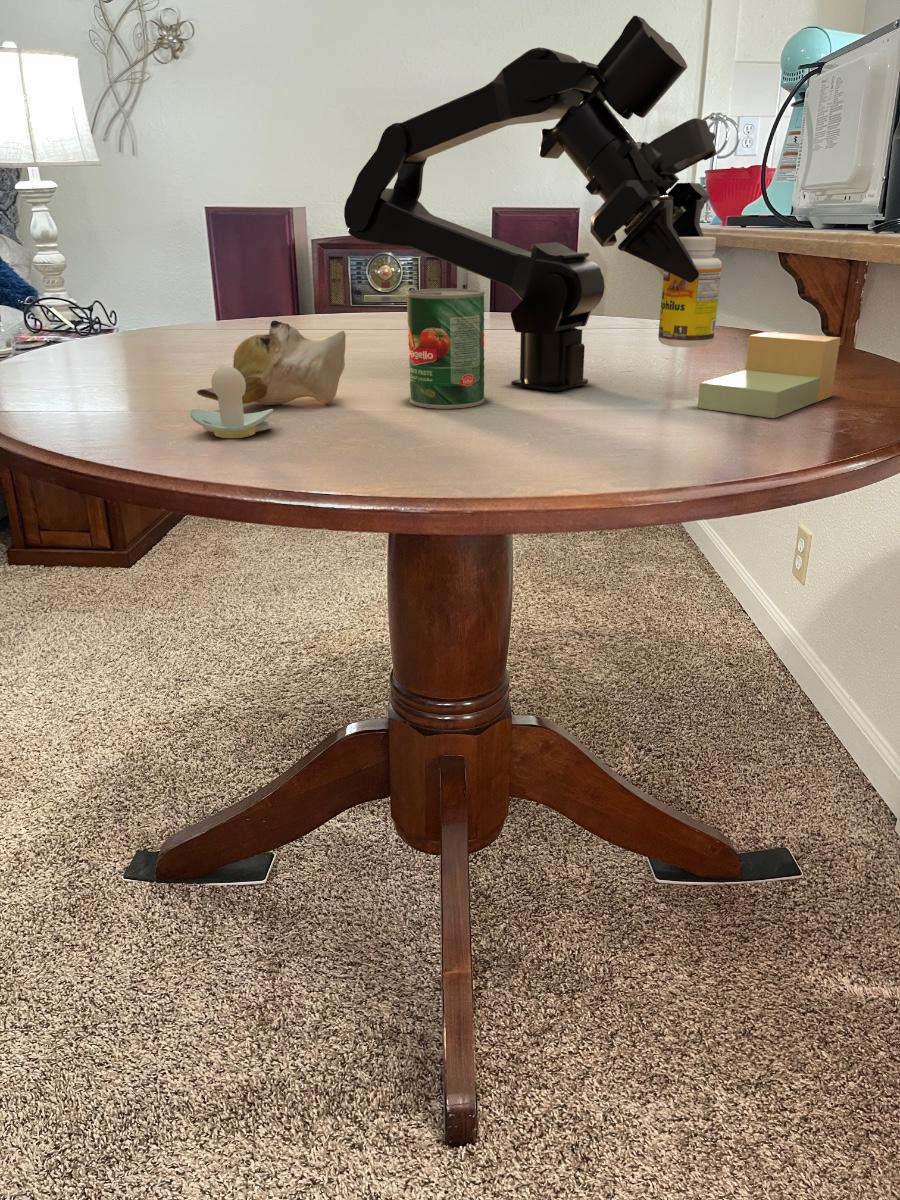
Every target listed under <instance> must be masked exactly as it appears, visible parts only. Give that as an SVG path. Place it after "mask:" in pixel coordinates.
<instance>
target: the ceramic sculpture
mask: <svg viewBox="0 0 900 1200" xmlns="http://www.w3.org/2000/svg"><path fill="white" fill-rule="evenodd" d="M268 330H269V331H268V332H267V333H255V334H252V335H250V336H248V337H247V338H245V339H244V340H242V341H241V342H240V343H239V344H238V345H237V347H236V349H235V350H234V353H233V357H232V358H233V361H232V362H233V363H232V365H233V366H232V367H233V368H235V369H237V370H238V371H239V372H240V373H241V374H242V376H243V377H244V379H245V383H246V390H245V393H244V395H243V396H242V403H243V405H246V404H250V403H253V402H254V403H256V404H259V405H262V406H277V405H284V404H288V403H289V402H292V401H294V400H296V399H301V398H311V399H312V398H313V399H314V400H316V401H317V402H319V403H322V404H327V403H331V402H332V401H333V400H334V399H335V397H336V396H337V393H338V388H339V383H340V378H341V376H342V374H343V372H344V370H345V364H346V363H345V361H346V360H345V354H346V335H347V334H346V332H345V330H340V331H338V332H336V333H334V334H330V335H327V336H325V337H323V338H319V339H309V338H307V337H305V336H303V335H302V333H300V331H299V330H298V329H297V328H296V327H295V326H292V325H290V324H288V323H285V322H281V321H278V320H272V321H271V322H270V326H269V329H268ZM196 394H197V395H198V396H201V397H204V398H207V399H211V400H214V401H217V402H218V396H217V395H216V394H215V393H214V391H213V389H212V387H207V388H202V389H201V388H200V389H198V390H196Z"/></svg>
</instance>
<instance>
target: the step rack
mask: <svg viewBox="0 0 900 1200" xmlns="http://www.w3.org/2000/svg"><path fill="white" fill-rule="evenodd" d="M840 343H841V337H840V336H828V335H816V334H815V335H813V334H801V333H787V332H772V331H763V332H759V333H755V334H751V335H749V336H748V344H747V352H746V361H745V369H742V370H740V371H736V372H733V373H729V374H726V375H722V376H720V377H716V378H712V379H708V380H704V381H702V382H699V388H698V396H697V397H698V398H697V400H698V401H697V409H700V410H701V409H702V410H709V411H716V412H724V413H731V414H738V415H746V416H752V417H753V416H754V417H758V418H759V417H760V418H767V419H777V418H779V417H782V416H784V415H787V414H789V413H792V412H794V411H797V410H799V409H802V408H805V407H807V406H810V405H813V404H815V403H818V402H821V401H823V400H826V399H828V398H831V397H832V395H833V388H834V383H835V376H836V369H837V363H838V357H839V351H840Z"/></svg>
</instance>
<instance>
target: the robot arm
mask: <svg viewBox="0 0 900 1200" xmlns="http://www.w3.org/2000/svg"><path fill="white" fill-rule="evenodd" d="M605 53H606V54H605V55H604V56H603V57H602V59H600V61H599V62H598V64H595V63H591V62H589V61H585V60H580V61H579V60H578V59H577V58H575V57H574V56H573V55H570V54H568V53H567V54H566V53H563V52H559V51H556V50H553V49H550V48H546V47H534V48H531V49H528V50H527V51H525V52H524V53H522V54H521V55H520V56H519V57H517V58H515V59H514V60H512V61H511V62H510V63H508V64H507V65H505V66H504V67H503V68H502V69H501V70H500V72H498V74H497V75H496V76H495V77H494V78H493V80H491V81H490V82H488V83H487V84H485V85H484V86H482V87H480V88H478V89H476V90H473V91H471V92H468V93H466V94H465V95H462V96H459V97H458V98H457V97H456V98H454V99H453V100H449V101H447V102H446V103H444V104H441V105H439V106H437V107H434V108H431V109H429V110H427V111H425V112H423V113H420V114H418V115H416V116H414V117H411V118H408V119H407V120H404V121H402V122H394V123H392V124H391V125H389V126H387V127H386V128H385V129H384V131H383V132H382V134H381V137H380V140H379V142H378V145H377V148H376V149H375V151H374V152H373V153H372V155H371V156H370V157H369V160H368V161H366V163H365V164H364V166H363V167H362V169H361V170H360V171H359V172H358V174H357V176H356V179H355V182H354V184H353V186H352V189H351V192H350V193H349V195H348V197H347V198H346V201H345V203H344V204H345V205H344V208H343V217H344V223H345V226H346V228H347V233H348V234H349V235H350V236H351V237H352V238H353V239H355V240H356V241H358V242H363V243H369V244H375V245H385V246H393V247H403V248H410V249H413V250H415V251H418V252H421V253H423V254H426V255H428V256H431V257H433V258H435V259H438V260H440V261H443V262H446V263H448V264H451V265H453V266H456V267H458V268H461V269H463V270H466V271H468V272H471V273H473V274H476V275H478V276H481V277H484V278H486V279H489V280H490V281H494V282H496V283H499V284H501V285H503V286H506V287H508V288H509V289H511V290H512V291H513V293H514V294H515V295H516V296H517V297H518V298H519V299H520V300H521V301H519V303H518V304H517V305H516V306H515V307H514V308H513V310H511V312H510V318H511V322H512V325H513V328H514V329H513V330H514V332H515V333H519V334H520V348H519V349H520V350H519V351H520V352H519V353H520V354H519V360H520V361H519V379H514V380H511V381H510V385H511V386H514V387H521V388H528V389H535V390H541V391H542V390H543V391H548V392H549V391H550V392H559V391H563V390H568V389H571V388H575V387H580V386H584V385H588V384H589V379H587V378H584V368H585V350H586V349H585V344H584V343H583V329H580V328H578V327H581V328H582V327H583V328H584V327H586V326H587V324H588V321H589V319H590V316H591V314H592V311H593V310H595V308H596V307H598V305H599V304H600V303H601V302H602V301H601V300H602V298H603V297H604V293H605V288H606V287H605V278H604V275H603V273H602V268H601V267H600V266H599V265H598V264H597V263H595V262H594V261H592V260H591V259H588V257H590V252H578V251H574V250H573V249H571V248H569V247H568V246H566V245H564V244H563V243H560V242H556V241H555V242H545V243H532V245H531V251H529V250H526V249H523V248H520V247H518V246H515V245H513V244H510V243H507V242H506V241H502V240H499V239H497V238H494V237H492V236H488V235H486V234H484V233H481V232H478V231H475V230H473V229H470V228H467V227H465V226H462V225H460V224H457V223H454V222H453V221H449V220H446V219H444V218H441V217H438V216H435V215H434V214H432V213H430V212H429V211H428V210H427V208H426V207H425V206H424V205H423V204H422V203H421V202H420V201H419V199H420V196H421V194H422V189H423V175H424V167H425V164H426V162H427V159H428V158H429V157H433V156H434V155H437V154H440V153H442V152H446V151H447V150H450V149H453V148H454V147H457V146H460V145H463V144H465V143H467V142H471V141H472V140H475V139H477V138H480V137H482V136H485V135H488V134H490V133H492V132H495V131H497V130H500V129H503V128H505V127H507V126H515V125H523V124H532V123H533V124H534V123H541V122H547V121H553V120H554V121H555V120H558V121H557V123H556V124H555V126H554V127H552V128H542V129H541V133H540V134H541V142H540V147H539V157H541V158H543V159H553V160H555V159H556V160H557V159H559V158H560V157H561V156H562V155H563V154H564V153H565V154H566V155H567V156H568V157H569V160H571V161H572V163H573V164H574V165H575V166H576V168H577V169H578V170H579V172H580V173H581V174H582V175H583V176H584V178H585V180H586V181H588V183H587V184H586V185H585V189H586V191H588V193H589V194H590V195H591V196H599V197H600V198H601V200H603V203H602V204H601V205H600V207H599V208H598V209H597V210H596V211H595V212H594V213H593V215H591V217H590V231H589V232H590V234H591V235H592V236H593V237H594V239H595V240H596V241H597V243H599V245H600V246H601V248H605V247H613V246H614V245H615V244H617V242H618V239H617V236H616V233H617V232H618V231H619V230H620V229H622V228H623V227H625V228H624V229H623V230H622V231H623V233H624V234H625V235H626V237H625V238H624V239H622V241H621V242H620V243H619V244H618V246H617V250H619V251H621V252H624V253H627V254H629V255H632V256H633V257H636V258H638V259H640V260H642V261H644V262H647V263H649V264H651V265H653V266H655V267H657V268H659V269H661V270H663V271H664V270H665V271H667V272H669V273H671V274H673V275H675V276H677V277H679V278H682V279H684V280H686V281H688V282H690V283H691V282H694V281H695V280H696V279H697V278H698V277H699V272H698V270H697V268H696V266H695V264H694V262H693V261H692V259H691V257H690V255H689V254H688V252H687V250H686V248H685V247H684V245H683V243H682V242H681V240H680V238H679V237H705V235H704V232H703V230H702V227H701V224H700V222H701V217H702V211H703V209H704V208H705V205H706V203H708V201H710V198H711V195H710V194H709V193H708V192H707V190H706V189H705V188H704V187H703V185H702V184H701V183H700V182H678V181H680V178H679V177H678V176H677V174H679V173H680V172H683V171H684V170H686V169H688V168H690V167H692V166H694V165H696V164H697V163H699V162H701V161H707V160H709V159H711V158H713V157H715V156H716V155H717V149H716V146H715V143H714V142H715V141H714V140H715V139H716V134H715V132H714V131H711V129H710V127H709V123H708V121H707V120H706V119H701V118H698V117H697V118H696V117H694V118H691V119H688V120H686V121H684V122H683V123H681V124H679V125H677V126H675V127H674V128H672V129H670V130H668V131H667V132H665V133H663V134H661V135H660V136H658V137H656V138H655V139H653V140H652V141H650V142H649V143H648V142H647V141H636V139H635V138H634V137H633V136H632V134H631V133H630V131H629V130H628V129H627V128H626V127H625V125H623V123H622V122H621V121H620V119H619V118H618V116H616V114H615V113H617V115H619V116H620V117H621V118H623V119H626V120H630V119H631V118H632V117H633V115H635V116H637V117H639V118H641V119H644V118H645V117H646V116H648V114H649V113H650V112H651V110H653V108H654V107H655V106H656V105H657V103H658V102H659V101H660V100H661V99H662V98H663V97H664V95H665V94H666V93H667V92H668V91H669V90H670V89H671V88H672V86H673V85H674V84H675V83H676V81H677V80H678V79H680V77H681V76H682V75H683V73H684V72H685V71H686V70H687V69H688V64H687V61H686V60H685V58H684V57H683V55H682V54H681V53H680V52H679V50H678V49H677V48H676V47H675V45H674V44H673V43H672V42H669V41H667V40H666V39H665V38H664V37H663V36H662V35H661V34H660V33H658V32H657V31H656V30H655V29H654V28H653V27H651V25H649V23H648V22H647V21H646V20H645V18H644V17H641V16H638V15H633V16H632V17H631V18H630V20H629V21H628V22H627V23H626V25H625V26H624V28H623V30H622V32H621V34H620V35H619V37H618V38H617V39H616V40H615V42H614V43H613V45H612V46H611V47H610V48H609V49H608V50H607V52H605ZM609 106H610V107H609ZM611 109H612V110H613V111H614V112H615V113H614V112H613V111H612V110H611ZM396 175H397V177H396V180H395V183H394V185H393V187H391V188H388V185H389V184H390V183H391V182H392V180H393V179H394V178H395V176H396ZM669 189H670V190H669ZM667 191H668V192H667ZM712 258H714V256H712Z"/></svg>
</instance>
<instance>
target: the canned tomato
mask: <svg viewBox="0 0 900 1200" xmlns="http://www.w3.org/2000/svg"><path fill="white" fill-rule="evenodd" d="M405 294H406V302H407V303H406V307H407V309H406V312H407V332H408V333H407V338H408V342H407V343H408V344H407V345H408V363H409V367H408V369H409V370H408V371H409V393H410V394H409V395H410V397H409V402H410V403H411V405H414V406H416V407H420V408H427V409H439V410H440V409H442V410H448V409H449V410H451V409H465V408H466V409H467V408H472V407H477V406H480V405H482V404H484V403H485V401H486V400H485V399H486V398H485V290H482V289H477V288H476V289H475V288H447V287H446V288H423V289H413V290H408V291H406V292H405Z"/></svg>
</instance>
